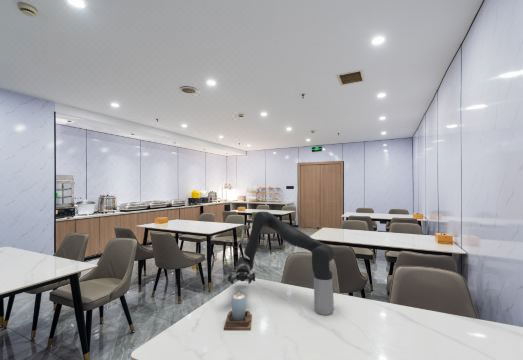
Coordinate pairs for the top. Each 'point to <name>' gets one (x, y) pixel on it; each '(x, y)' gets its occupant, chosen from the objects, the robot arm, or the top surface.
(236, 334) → the top surface
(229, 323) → the tray
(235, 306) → the candle jar
